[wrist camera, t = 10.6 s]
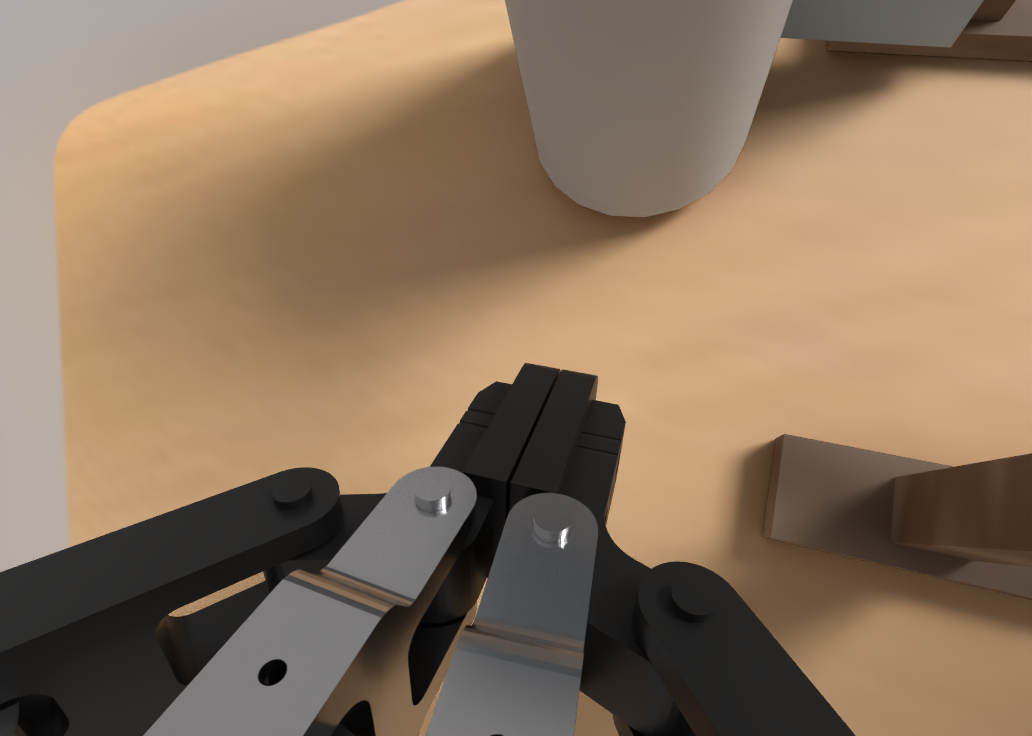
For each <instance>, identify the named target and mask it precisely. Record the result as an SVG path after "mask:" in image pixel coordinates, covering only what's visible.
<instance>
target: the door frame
mask: <svg viewBox="0 0 1032 736" xmlns="http://www.w3.org/2000/svg"><path fill="white" fill-rule="evenodd" d="M827 50H830V51H849V52H868V53H887V54H905V55H924V56H943V57H962V58H981V59H1000V60H1019V61H1032V0H984V1H983V2H982V4H981V5H980V6H979V8H978V9H977V11H976V12H975V14H974V15H973V16H972V18H971V19H970V21H969V22H968V24H967V25H966V26H965V28H964V29H963V31H962V32H961V34H960V35H959V36H958V38H957V39H956V41H955V42H954V44H953V45H952V46H951V48H950V47H933V46H916V45H898V44H881V43H863V42H846V41H829V40H828V43H827ZM762 537H765V538H769V539H774V540H778V541H782V542H787V543H791V544H795V545H799V546H804V547H808V548H812V549H817V550H821V551H825V552H830V553H834V554H838V555H842V556H847V557H851V558H855V559H860V560H864V561H868V562H873V563H877V564H881V565H885V566H890V567H894V568H898V569H903V570H907V571H911V572H916V573H920V574H924V575H928V576H933V577H937V578H941V579H946V580H950V581H954V582H959V583H963V584H967V585H971V586H976V587H980V588H984V589H989V590H993V591H997V592H1001V593H1006V594H1010V595H1014V596H1019V597H1023V598H1027V599H1032V454H1026V455H1020V456H1014V457H1009V458H1003V459H997V460H991V461H985V462H980V463H974V464H968V465H962V466H956V467H952V466H947V465H942V464H937V463H931V462H926V461H921V460H916V459H911V458H906V457H900V456H895V455H890V454H885V453H880V452H875V451H869V450H864V449H859V448H854V447H849V446H844V445H838V444H833V443H828V442H823V441H818V440H813V439H807V438H802V437H797V436H792V435H787V434H783V435H782V436H780V437H778V438H776V439H775V445H774V452H773V460H772V468H771V475H770V483H769V490H768V498H767V506H766V513H765V521H764V528H763V536H762Z"/></svg>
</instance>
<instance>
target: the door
mask: <svg viewBox="0 0 1032 736" xmlns="http://www.w3.org/2000/svg"><path fill="white" fill-rule="evenodd" d="M983 1H984V0H793V1H792V4H791V7H790V10H789V13H788V16H787V19H786V22H785V25H784V28H783V31H782V34H781V37H780V38H794V39H811V40H829V41H846V42H863V43H881V44H898V45H916V46H933V47H950V48H951V46H952V45H953V44H954V42H955V41H956V39H957V38H958V36H959V35H960V34H961V32H962V31H963V29H964V28H965V26H966V25H967V24H968V22H969V21H970V19H971V18H972V16H973V15H974V14H975V12H976V11H977V9H978V8H979V6H980V5H981V4H982V2H983Z"/></svg>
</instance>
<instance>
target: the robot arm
mask: <svg viewBox="0 0 1032 736" xmlns="http://www.w3.org/2000/svg"><path fill="white" fill-rule="evenodd" d="M597 384H598V376H596V375H590V374H585V373H579V372H574V371H568V370H562V371H561V370H560V369H557V368H551V367H546V366H540V365H535V364H529V363H525V364H524V365H523V367H522V368H521V370H520V372H519V374H518V375H517V377H516V379H515V381H514V382H513V384H507V383H502V382H497V381H496V382H495V383H493V384H491V385H490V386H488V387H487V388H485V389H483V390H482V391H480V392H479V393H478V394H477V395H476V397H475V398H474V400H473V401H472V403H471V404H470V406H469V407H468V411H466V412H465V414H464V415H463V417H462V418H461V420H460V423H459V424H457V426H456V427H455V429H454V430H453V432H452V434H451V435H450V437H449V438H448V440H447V441H446V443H445V444H444V446H443V447H442V449H441V450H440V452H439V453H438V455H437V457H436V458H435V460H434V461H433V463H432V464H431V466H430V467H427V468H422V469H418V470H415V471H413V472H410V473H408V474H406V475H405V476H403V477H402V478H401V479H399V480H398V481H397V482H396V483H395V484H394V486H393V487H392V488H391V489H390V490H389V492H388V493H383V494H350V495H340V490H339V485H338V483H337V480H336V479H335V478H334V477H333V476H332V475H331V474H329V473H328V472H326V471H324V470H320V469H316V468H305V467H303V468H294V469H289V470H285V471H282V472H279V473H276V474H273V475H270V476H268V477H265V478H262V479H259V480H256V481H254V482H251V483H248V484H245V485H243V486H240V487H237V488H234V489H231V490H229V491H226V492H223V493H220V494H217V495H215V496H212V497H209V498H206V499H204V500H201V501H198V502H195V503H192V504H190V505H187V506H184V507H181V508H178V509H176V510H173V511H170V512H167V513H164V514H162V515H159V516H156V517H153V518H151V519H148V520H145V521H142V522H139V523H137V524H134V525H131V526H128V527H125V528H123V529H120V530H117V531H114V532H111V533H109V534H106V535H103V536H100V537H98V538H95V539H92V540H89V541H86V542H84V543H81V544H78V545H75V546H72V547H70V548H67V549H64V550H61V551H59V552H56V553H53V554H50V555H48V556H45V557H42V558H39V559H36V560H34V561H31V562H28V563H25V564H22V565H19V566H17V567H14V568H11V569H8V570H6V571H3V572H0V736H419V732H420V729H421V726H422V723H423V720H424V718H425V716H426V713H427V711H428V709H429V707H430V705H431V703H432V701H433V699H434V697H435V695H436V693H437V691H438V690H439V688H440V686H441V684H442V682H443V680H444V678H445V680H444V683H443V686H442V689H441V692H440V695H439V698H438V701H437V704H436V707H435V710H434V713H433V716H432V719H431V722H430V725H429V728H428V731H427V734H426V736H574V729H575V721H576V713H577V705H578V697H579V690H580V691H582V692H583V693H584V694H586V695H587V696H589V697H590V698H591V699H593V700H594V701H596V702H597V703H598V704H600V705H601V706H603V707H604V708H605V709H607V710H608V711H609V712H611V713H612V714H613V719H614V723H615V726H616V729H617V731H618V734H619V736H855V734H854V733H853V732H852V731H851V730H850V728H849V727H848V726H847V725H846V724H845V722H844V721H843V720H842V719H841V717H840V716H839V715H838V714H837V713H836V711H835V710H834V709H833V708H832V707H831V705H830V704H829V703H828V702H827V701H826V699H825V698H824V697H823V696H822V695H821V693H820V692H819V691H818V690H817V689H816V687H815V686H814V685H813V684H812V683H811V681H810V680H809V679H808V678H807V677H806V675H805V674H804V673H803V672H802V671H801V669H800V668H799V667H798V666H797V665H796V663H795V662H794V661H793V660H792V658H791V657H790V656H789V655H788V654H787V652H786V651H785V650H784V649H783V648H782V646H781V645H780V644H779V643H778V642H777V640H776V639H775V638H774V637H773V636H772V634H771V633H770V632H769V631H768V630H767V628H766V627H765V626H764V625H763V624H762V622H761V621H760V620H759V619H758V618H757V616H756V615H755V614H754V613H753V612H752V610H751V609H750V608H749V607H748V606H747V604H746V603H745V602H744V601H743V599H742V598H741V597H740V596H739V595H738V593H737V592H736V591H735V590H734V589H733V588H732V587H731V586H730V584H729V583H728V582H726V581H725V580H724V579H723V578H722V577H720V576H719V575H717V574H716V573H714V572H713V571H711V570H709V569H707V568H704V567H702V566H699V565H696V564H692V563H687V562H668V563H663V564H660V565H658V566H656V567H654V568H652V569H651V568H649V567H647V566H645V565H644V564H642V563H640V562H638V561H636V560H635V559H633V558H631V557H630V556H628V555H627V554H626V553H624V552H623V551H622V550H621V549H620V548H619V547H618V546H617V545H616V544H615V543H614V541H613V540H612V539H611V537H610V535H609V533H608V531H607V528H606V523H607V519H608V514H609V510H610V505H611V500H612V496H613V492H614V487H615V483H616V477H617V471H618V465H619V459H620V453H621V447H622V441H623V435H624V429H625V423H626V422H625V419H624V417H623V414H622V412H621V410H620V407H619V405H617V404H611V403H606V402H601V401H596V392H597ZM262 571H263V573H264V576H265V580H266V581H264V582H262V583H259V584H257V585H255V586H253V587H250V588H248V589H246V590H244V591H242V592H239V593H237V594H235V595H233V596H230V597H228V598H226V599H224V600H221V601H219V602H217V603H215V604H212V605H210V606H208V607H206V608H204V609H201V610H199V611H197V612H195V613H192V614H190V615H186V616H181V617H173V616H169V615H168V614H169V613H171V612H172V611H174V610H176V609H178V608H180V607H182V606H185V605H187V604H189V603H191V602H194V601H196V600H198V599H201V598H203V597H205V596H207V595H210V594H212V593H214V592H217V591H219V590H221V589H223V588H226V587H228V586H230V585H233V584H235V583H237V582H239V581H242V580H244V579H246V578H248V577H251V576H253V575H255V574H258V573H260V572H262ZM486 578H488V580H487V583H486V586H485V589H484V592H483V595H482V599H481V602H480V605H479V608H478V611H477V614H476V610H477V600H478V597H479V595H480V593H481V590H482V588H483V585H484V583H485V581H486ZM475 615H476V617H475ZM474 618H475V620H474ZM473 620H474V622H473ZM472 622H473V624H472ZM471 624H472V626H471ZM445 676H446V677H445Z"/></svg>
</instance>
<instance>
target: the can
mask: <svg viewBox="0 0 1032 736" xmlns="http://www.w3.org/2000/svg"><path fill="white" fill-rule="evenodd" d="M792 1H793V0H505V2H506V7H507V12H508V16H509V21H510V26H511V30H512V35H513V40H514V44H515V49H516V54H517V58H518V63H519V68H520V72H521V77H522V82H523V86H524V91H525V96H526V100H527V105H528V110H529V114H530V119H531V124H532V128H533V133H534V137H535V142H536V147H537V151H538V156H539V161H540V163H541V165H542V167H543V168H544V170H545V171H546V173H547V174H548V176H549V178H550V179H551V181H552V182H553V184H554V185H555V187H557V188H558V189H559V190H561V191H562V192H563V193H564V194H566V195H567V196H568V197H570V198H571V199H572V200H574V201H575V202H576V203H577V204H579V205H581V206H584V207H587V208H590V209H593V210H595V211H598V212H601V213H604V214H607V215H610V216H628V217H648V216H652V215H657V214H661V213H665V212H670V211H674V210H679V209H681V208H683V207H684V206H686V205H688V204H690V203H692V202H693V201H695V200H697V199H699V198H701V197H702V196H704V195H706V194H708V193H710V192H711V191H712V190H713V189H714V188H715V187H716V186H717V184H718V183H719V182H720V181H721V180H722V179H723V178H724V177H725V176H726V175H727V174H728V173H729V172H730V171H731V170H732V169H733V167H734V165H735V163H736V161H737V159H738V157H739V154H740V152H741V150H742V148H743V146H744V144H745V141H746V139H747V136H748V133H749V130H750V127H751V124H752V121H753V118H754V115H755V112H756V109H757V106H758V103H759V100H760V97H761V94H762V91H763V88H764V85H765V82H766V79H767V76H768V73H769V70H770V67H771V64H772V61H773V58H774V55H775V52H776V49H777V46H778V43H779V40H780V37H781V34H782V31H783V28H784V25H785V22H786V19H787V16H788V13H789V10H790V7H791V4H792Z"/></svg>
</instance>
